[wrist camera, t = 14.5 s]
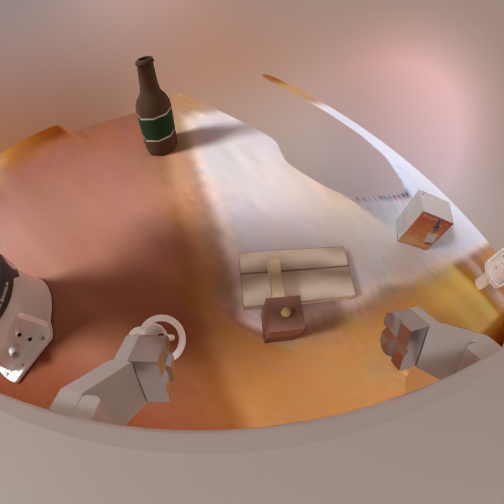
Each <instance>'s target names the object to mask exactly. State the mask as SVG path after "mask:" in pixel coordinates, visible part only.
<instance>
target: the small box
mask: <svg viewBox="0 0 504 504" xmlns="http://www.w3.org/2000/svg"><path fill="white" fill-rule="evenodd" d="M396 222H397V238H398V241H400V242H404V243H407V244H410V245H413V246H416V247H419V248H422V249H424V250H427V249H428V248H429V247H430V246H431V245H432V244H433V243H435V242H436V241H437V240H438V239H439V238H440V237H441V236H442V235H443V234H444V233H445V232H446V231H447V230H448V229H449V228H450V227H451V226H452V225H453V219H452V214H451V210H450V206H449V202H447V201H444V200H442V199H439V198H437V197H435V196H432V195H430V194H428V193H425V192H423V191H421V190H418V192H417V193H416V194H415V196H414V197H413V199H412V200H411V201H410V203H409V204H408V205H407V207H406V208H405V209H404V211H403V212H402V213H401V215H400V216H399V217H398V218H397V220H396Z"/></svg>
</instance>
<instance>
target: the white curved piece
mask: <svg viewBox="0 0 504 504" xmlns="http://www.w3.org/2000/svg"><path fill="white" fill-rule="evenodd" d="M158 321H165V322H168V323H170V324H172V325H173V326H174V327H175V328H176V330H177V332H178V335H179V344H178V347H177V349H176V350H175V351H174V352H173V353H172V355H173V356H174V360H176V359H177V358H178V357H179V356H180V355H181V354H182V352H183V350H184V348H185V344H186V335H185V331H184V329H183V327H182V325H181V324H180V323H179V322H178V321H177V320H176V319H175V318H173V317H171V316H168V315H155V316H152V317H150V318H148V319H147V320H146V321H145V322H144V323H143V324H142V325H141V327H135V328H133V329H132V330H131V331H130V333H129V335H158V334H160V333H163V334H164V335H167V336H168V337H169V340H170V341H172V340H174V339H175V336H174V335H171V334H167V332H166V330H165V329H164V328H163V327H162V326H161V325H160V324H157V323H155V322H158Z"/></svg>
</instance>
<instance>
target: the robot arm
mask: <svg viewBox="0 0 504 504" xmlns="http://www.w3.org/2000/svg"><path fill="white" fill-rule="evenodd" d="M51 313H52V299H51V294H50V290H49V288H48V286H47V285H46V283H45V282H44V281H43V280H42V279H40V278H37V277H33V276H30V275H27V274H25V273H23V272H21V271H19V270H18V269H17V268H16V267H15V266H14V265H13V264H12V263H11V262H10V261H9V260H8V259H7V258H5V257H4V256H3V255H1V254H0V372H1V373H2V374H3V375H4V376H5V377H6V378H7V379H8V380H10V381H12V382H15V383H18V382H19V381H20V380H21V378H22V377H23V376H24V374H25V373H26V372H27V370H28V369H29V368H30V366H31V365H32V364H33V362H34V361H35V360H36V359H37V357H38V356H39V355H40V354H41V352H42V351H43V350H44V349H45V347H46V346H47V345H48V344H49V342H50V341H51V340H52V338H53V329H52V325H51ZM384 324H385V326H386V328H385V329H384V330H383V332H382V334H381V339H380V341H381V347H382V350H383V351H384V353H385V354H386V355H388V356H391V357H392V358H391V361H392V363H393V364H394V365H395V366H396V368H397V369H398V370H399V371H400V370H404V369H407V368H410V367H414V366H416V367H417V368H419V369H421V370H423V371H425V372H427V373H428V374H430V375H432V376H434V377H436V378H438V379H440V380H439V381H437V382H435V383H432V384H430V385H428V386H425V387H423V388H420V389H418V390H415V391H413V392H410V393H407V394H404V395H402V396H399V397H396V398H393V399H390V400H387V401H384V402H381V403H377V404H374V405H371V406H367V407H364V408H360V409H357V410H353V411H349V412H345V413H341V414H337V415H332V416H328V417H323V418H318V419H313V420H308V421H302V422H296V423H290V424H283V425H275V426H267V427H258V428H246V429H231V430H167V429H152V428H141V427H132V426H124V425H125V424H126V423H127V422H128V421H129V420H130V419H131V418H132V417H133V416H134V415H135V414H136V413H137V412H138V411H139V410H140V409H141V408H142V407H143V406H144V405H145V404H146V403H147V402H170V400H171V395H172V390H173V388H172V385H171V382H173V381H174V379H175V361H174V356H173V355H172V354H171V353H170V352H169V351H170V347H171V344H170V340H169V337H168V336H167V335H126V337H125V339H124V341H123V343H122V344H121V346H120V348H119V350H118V352H117V354H116V356H115V358H114V360H109V361H108V362H106V363H104V364H102V365H101V366H99V367H97V368H96V369H94V370H92V371H91V372H89V373H87V374H85V375H84V376H82V377H80V378H79V379H77V380H75V381H73V382H72V383H70V384H68V385H67V386H65V387H63V388H61V389H60V391H59V393H58V395H57V396H56V398H55V400H54V401H53V403H52V405H51V407H50V408H49V410H47V409H44V408H41V407H37V406H34V405H31V404H28V403H25V402H22V401H20V400H17V399H14V398H12V397H9V396H6V395H4V394H2V393H0V504H504V346H503V347H501V346H500V345H499V344H497V343H496V342H495V341H494V340H492V339H491V338H490V337H489V336H487V335H484V334H481V333H477V332H473V331H470V330H466V329H463V328H459V327H456V326H452V325H449V324H445V323H439V322H438V321H437V320H435V319H434V318H433V317H432V316H430V315H429V314H428V313H427V312H425V311H424V310H423V309H421V308H420V307H417V306H416V307H412V308H409V309H405V310H401V311H397V312H392V313H388V314H387V315H386V317H385V320H384ZM146 401H147V402H146Z"/></svg>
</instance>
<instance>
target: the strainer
mask: <svg viewBox="0 0 504 504" xmlns="http://www.w3.org/2000/svg"><path fill="white" fill-rule="evenodd" d="M501 252H502V253H501ZM500 253H501V254H500ZM503 255H504V247H503V248H502V249H500V250H499V251H498V252H497V253H495V254H494V255H493V256H492V257H490V258H489V259H488V260H487V261H486V262H485V273H483V274H482V275H480V276H479V277H478V278H476V279H475V285H476V287H477V289H478V290H482V289H483V288H485V287H486V286H488V285H489V284H491V285H492V286H493V287H494V288H496V289H499V288H500V287H502V286H503V285H504V259H503V257H502V256H503ZM496 256H497V257H496ZM495 257H496V258H495ZM501 257H502V258H501Z"/></svg>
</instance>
